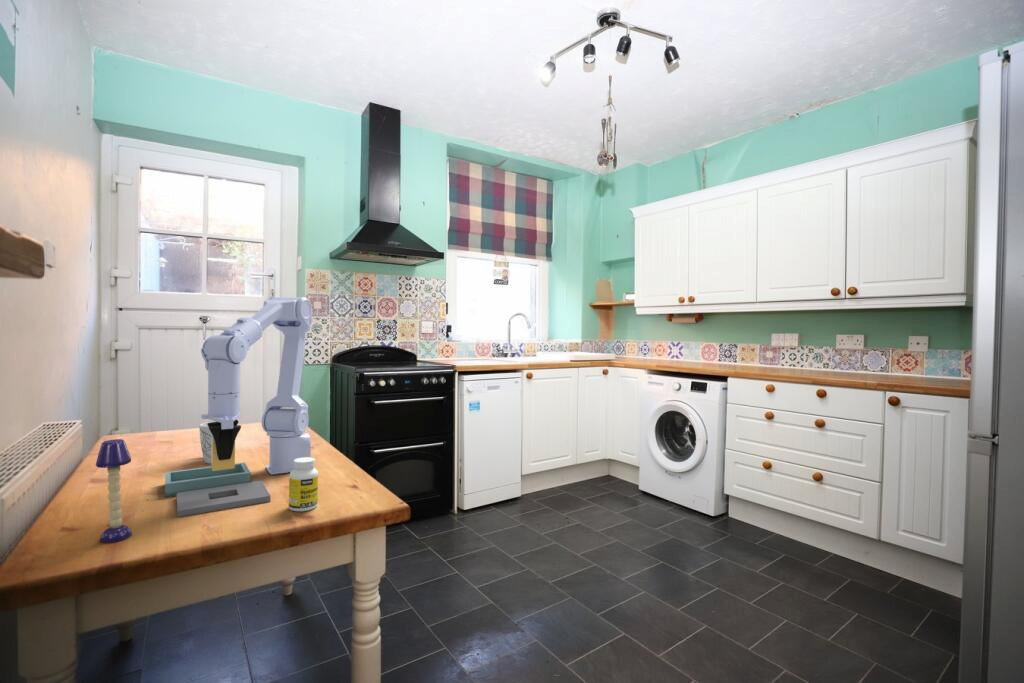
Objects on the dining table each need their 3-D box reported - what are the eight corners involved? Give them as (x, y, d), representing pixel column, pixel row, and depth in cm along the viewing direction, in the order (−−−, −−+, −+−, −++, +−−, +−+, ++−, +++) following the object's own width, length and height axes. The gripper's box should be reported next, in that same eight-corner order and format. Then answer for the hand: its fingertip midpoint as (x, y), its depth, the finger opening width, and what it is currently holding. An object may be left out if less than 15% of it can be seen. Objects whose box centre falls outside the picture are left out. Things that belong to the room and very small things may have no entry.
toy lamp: (92, 545, 80) (92, 444, 80) (100, 534, 84) (100, 438, 84) (128, 540, 82) (128, 442, 82) (134, 529, 86) (135, 436, 86)
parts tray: (244, 473, 120) (244, 462, 120) (250, 484, 112) (250, 472, 112) (165, 484, 111) (165, 472, 111) (164, 497, 103) (165, 484, 103)
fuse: (233, 464, 104) (233, 432, 104) (234, 468, 102) (235, 434, 102) (211, 467, 102) (211, 434, 102) (212, 471, 99) (212, 437, 99)
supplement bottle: (299, 514, 95) (300, 464, 95) (283, 508, 98) (283, 460, 98) (323, 506, 100) (324, 458, 100) (307, 500, 103) (307, 454, 102)
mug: (188, 459, 132) (188, 422, 131) (221, 453, 139) (221, 418, 138) (208, 466, 125) (208, 428, 125) (241, 460, 132) (242, 423, 132)
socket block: (261, 485, 112) (261, 480, 111) (270, 501, 102) (270, 495, 102) (176, 498, 102) (176, 492, 102) (177, 517, 92) (177, 510, 92)
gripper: (199, 389, 105) (199, 452, 105) (203, 398, 93) (203, 468, 94) (236, 388, 109) (236, 448, 109) (245, 396, 97) (244, 463, 98)
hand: (223, 457), depth 102 cm, fingers closed on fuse, 3 cm apart
